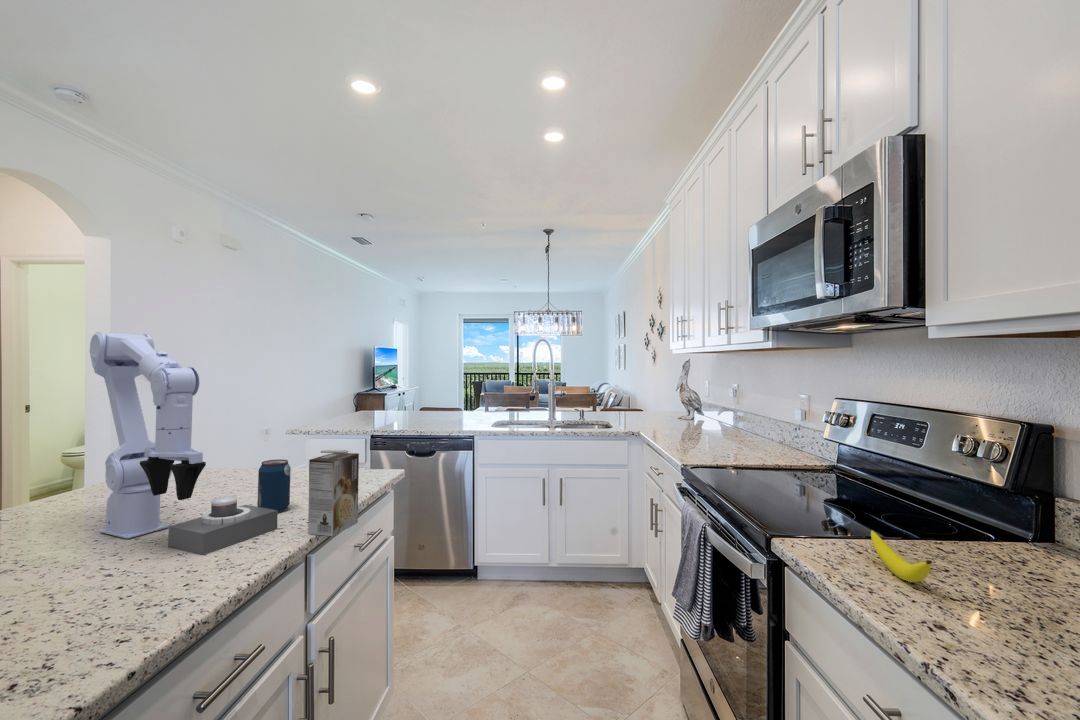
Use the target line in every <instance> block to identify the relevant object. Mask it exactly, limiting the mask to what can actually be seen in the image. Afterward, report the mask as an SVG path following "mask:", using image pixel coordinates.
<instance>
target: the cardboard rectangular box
mask: <svg viewBox="0 0 1080 720" xmlns="http://www.w3.org/2000/svg"><path fill="white" fill-rule="evenodd" d="M359 456H360V453H355V452H354V453H353V452H352V453H351V452H333V453H329V454H324V455H321V456H318V457H314V458H311V459H308V461H309V462H308V463H309V464H308V466H309V468H308V471H309V473H308V519H307V524H308V525H307V534H308V535H315V536H326V537H335V536H337V535H339V534H340V533H342V532H344V531H345V530H348V529H349V528H351V527H352V526H354V525H357V524H358V523H359V522H358V519H359V517H358V516H359V472H360V471H359V469H360V467H359V466H360V465H359V462H360V459H359Z"/></svg>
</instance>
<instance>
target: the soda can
mask: <svg viewBox="0 0 1080 720" xmlns="http://www.w3.org/2000/svg"><path fill="white" fill-rule="evenodd" d="M291 471H292V470H291V465H290V464H289V460H288V459H280V458H279V459H269V460H265V461H261V465H260V467H259V468H258V475H257V477H258V478H257V480H258V482H257V505H256V507H262V508H267V509H273V510H278V514H279V513H283V512H285V511H286V510H287V509H288V508H289V507H290V504H291V503H290V502H291V501H290V500H291V499H290V498H291Z"/></svg>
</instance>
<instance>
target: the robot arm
mask: <svg viewBox="0 0 1080 720" xmlns="http://www.w3.org/2000/svg"><path fill="white" fill-rule="evenodd" d="M89 356H90V359H91V366H92V368H93V371H94V373H95V374H96V375H99V377H102V378H103V379H104V383H105V386H106V390H107V394H108V395H107V396H108V400H109V403H110V407H111V408H110V409H111V413H112V417H113V423H114V426H115V432H116V436H117V440H118V445H119V447H118V448H116V449H115V450H113V451H112V452H111V453H110V454H109V455H108V456H107V458H106V459H105V462H104V465H105V482H106V486H107V488H108V489H109V490H111V491H112V492H111V493H110V495H109V496H108V498H107V500H106V509H105V511H106V512H105V513H106V516H105V528H102V529H100V533H102V534H106V535H110V536H114V537H117V538H118V537H119V538H123V539H127V540H128V539H132V538H135V537H138V536H142V535H145V534H150V533H152V532H153V533H154V532H157V531H160V530H164V529H167V528H168V529H169V526H170V525H169V524H166V523H163V522H160V521H161V520H160V519H161V518H160V516H161V495H164V494H167V491H168V486H169V481H170V478H171V476H172V475H173V477H174V481H175V489H176V490H175V491H176V493H175V494H176V498H177V500H178V501H183V500H189V499H192V496H193V492H194V489H195V485H196V484H197V481H198V479H199V476H200V475H201V473H202V471H203V470H204V468H205V467H206V465H207V464H206V463H207V462H206V461H203V458H204V457H203V456H204V454H203V452H201V451H198V450H195V449H194V448H192V430H193V429H192V428H193V402H194V401H193V399H194V398H193V396H195V395H197V393H198V391H199V388H200V383H201V382H200V375H199V372H198V370H197V369H196V368H195V367H193V366H191V367H190V366H188V367H182V366H181V365H180V364H179V363H178V362H177V361H175V360H174V359H173V358H172V357H171V356H169V354H168V352H166V351H157V350H155V341H154V339H153V337H151V336H150V335H149V334H132V333H115V332H114V333H112V332H104V331H97V332H95V333H94V334H93V335H92V337H91V338H90V343H89ZM141 375H143V376H144V378H146V380H147V381H149V382H150V390H151V392H152V396H153V397H152V398H153V399H152V402H153V405H154V406H156V408H155V410H156V412H155V437H154V438H155V440H154V441H152V440H149V434H148V431H147V427H146V423H145V417H144V414H143V410H142V406H141V405H142V404H141V402H140V397H139V394H138V390H137V389H138V388H137V385H136V380H135V379H136V378H137V377H139V376H141ZM175 461H178V462H180V463H175Z"/></svg>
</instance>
